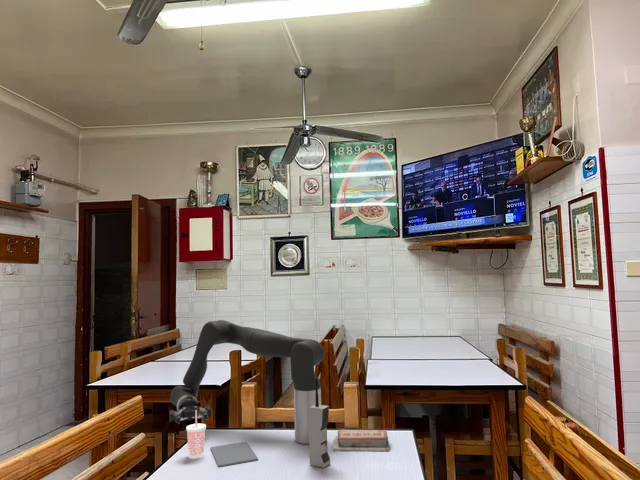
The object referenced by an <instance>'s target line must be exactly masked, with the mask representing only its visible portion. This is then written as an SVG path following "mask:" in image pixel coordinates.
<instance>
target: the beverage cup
mask: <svg viewBox="0 0 640 480" xmlns="http://www.w3.org/2000/svg"><path fill="white" fill-rule="evenodd" d="M194 419H195V420H194V422H195V423H193V424H189V425H186V427H185V430H186V434H187V450H188V451H187V453H188V454H187V455H188V458H189V459H191V460H192V459H194V460H195V459H201V458H202V457H204V454H205V439H206V429H207V424H206V423H199V422H198V418H197V410H195V418H194Z"/></svg>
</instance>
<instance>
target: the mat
mask: <svg viewBox="0 0 640 480" xmlns="http://www.w3.org/2000/svg"><path fill="white" fill-rule="evenodd" d="M210 451H211V453H212V456H213V458H214V460H215V463H216V465H217V467H218V468H222V467H228V466H233V465H238V464H245V463H249V462H250V463H251V462H256V461H259V457H258V456H257V454H256V453H255V451H254V450H253V449H252V447H251V445H250V444H249V442H248V441H242V442H234V443H228V444H223V445H221V444H220V445H216V446H210Z"/></svg>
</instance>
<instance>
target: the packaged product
mask: <svg viewBox="0 0 640 480" xmlns="http://www.w3.org/2000/svg"><path fill="white" fill-rule="evenodd" d="M389 441H390V440H389V436H388V431H387V430H386V429H385V430H384V429H383V430H382V429H381V430H380V429H338V430H337V435H336V436H335V435H334V439H333V443H332V444H333V445H332V451H333V452H344V451H345V452H390V447H389V443H390V442H389Z"/></svg>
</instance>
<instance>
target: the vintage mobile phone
mask: <svg viewBox="0 0 640 480" xmlns="http://www.w3.org/2000/svg"><path fill="white" fill-rule="evenodd" d="M317 378H318V377H317ZM317 378H315V380H316V395H315V397H316V404H315V405H313V406H311V407H309V408H308V410H309V444H308V447H309V449H308V450H309V466H313V467H318V468H322V469H324V468H327V466H329V465H330V464H331V458H330V455H329V453H328V424H329V413H330V406H329V405H324V404H323V405H322V404H321V405H319V404H318V380H317Z"/></svg>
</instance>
